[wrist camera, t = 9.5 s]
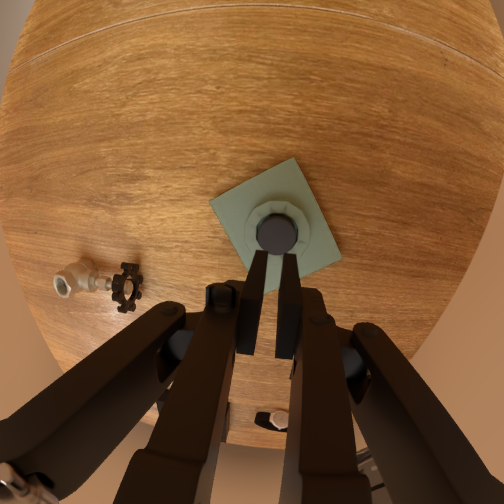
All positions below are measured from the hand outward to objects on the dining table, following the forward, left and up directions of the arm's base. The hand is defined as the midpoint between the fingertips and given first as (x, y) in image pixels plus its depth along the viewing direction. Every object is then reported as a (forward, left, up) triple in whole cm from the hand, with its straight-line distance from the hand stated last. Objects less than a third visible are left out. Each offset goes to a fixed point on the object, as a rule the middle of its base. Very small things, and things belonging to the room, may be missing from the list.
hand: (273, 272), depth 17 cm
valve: (+5, +24, -15) cm, 29 cm away
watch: (-29, +14, -15) cm, 35 cm away
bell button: (0, 0, -11) cm, 11 cm away
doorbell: (0, 0, -14) cm, 14 cm away
